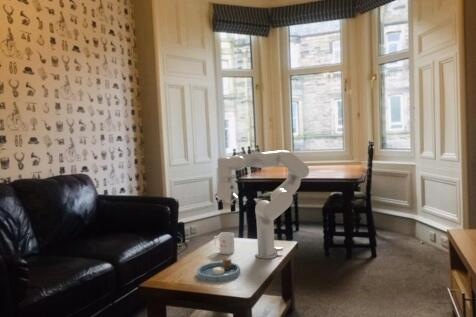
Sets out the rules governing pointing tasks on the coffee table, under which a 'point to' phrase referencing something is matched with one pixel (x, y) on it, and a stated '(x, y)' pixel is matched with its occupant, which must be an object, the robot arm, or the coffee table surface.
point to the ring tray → (217, 272)
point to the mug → (225, 242)
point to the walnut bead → (227, 264)
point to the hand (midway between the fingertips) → (226, 210)
